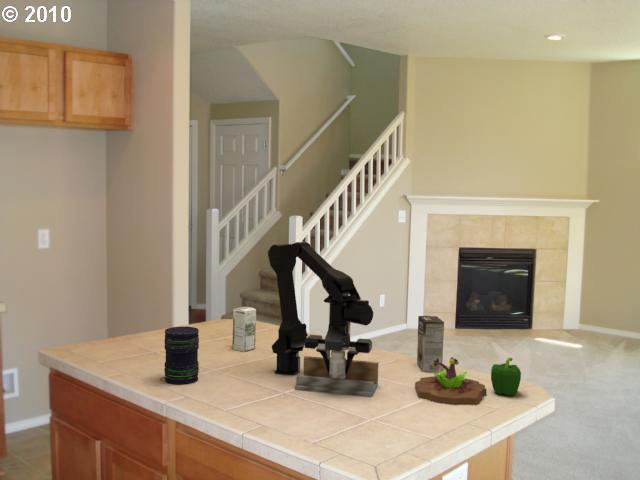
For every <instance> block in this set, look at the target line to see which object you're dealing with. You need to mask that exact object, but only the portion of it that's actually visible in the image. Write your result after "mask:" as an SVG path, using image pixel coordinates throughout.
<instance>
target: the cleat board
mask: <svg viewBox="0 0 640 480" xmlns="http://www.w3.org/2000/svg"><path fill="white" fill-rule="evenodd" d="M346 361H347V359H346ZM295 378H296V379H295V380H296V383H295V385H294V391H300V392H301V391H302V392H310V393H311V392H314V393H323V394H335V395H345V396H355V397H366V398H373V396H374V394H375V392H376V390H377V388H378V386H379V361H371V360H370V361H368V360H357V359H356V360H355V359H353V360H352V362H351V365H350V368H349V370H348V373H347V374H346V379H337V378H329V373H328V371H327V368H326V365H325V362H324V359H323V357H320V356H307V355H304V356H303V375H302V374H301V375H300V374H296V377H295Z"/></svg>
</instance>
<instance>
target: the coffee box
mask: <svg viewBox="0 0 640 480" xmlns="http://www.w3.org/2000/svg"><path fill="white" fill-rule="evenodd" d="M444 335H445V321H444V320H442V319H441V318H439V317H438V316H437V315H418V321H417V349H416V350H417V351H416V354H417V355H416V356H417V357H416V364H417V366H418V367H419V369H421V371H422V372H423V373H427V372H428V373H431V372H432V373H437V372H438V373H439V371H442V372H443V366H441V365H439V364H437V366H436V367H435V368H434V367H432V364H433V363H434V362H439V363H442V364H443V357H444V356H443V355H444Z"/></svg>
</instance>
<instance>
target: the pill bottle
mask: <svg viewBox="0 0 640 480" xmlns="http://www.w3.org/2000/svg"><path fill="white" fill-rule="evenodd" d="M346 360H347V357H346V351H345V350H341V351H334V350H330V369H329V378H337V379H346V374H345V369H346Z"/></svg>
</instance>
